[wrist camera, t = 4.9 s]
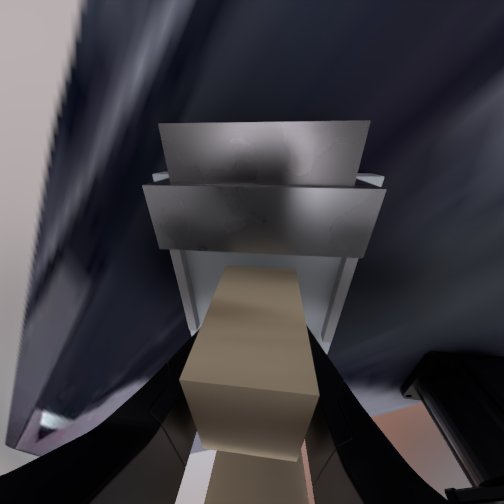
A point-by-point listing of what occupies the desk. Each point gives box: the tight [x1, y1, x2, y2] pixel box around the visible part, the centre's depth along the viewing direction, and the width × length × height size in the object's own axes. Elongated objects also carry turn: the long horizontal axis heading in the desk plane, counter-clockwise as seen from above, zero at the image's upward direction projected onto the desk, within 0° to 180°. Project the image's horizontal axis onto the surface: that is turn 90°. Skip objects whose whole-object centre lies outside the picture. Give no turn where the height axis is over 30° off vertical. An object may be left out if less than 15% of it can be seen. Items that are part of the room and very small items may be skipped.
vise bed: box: [152, 172, 384, 354], centre depth 11 cm, size 14×11×4 cm
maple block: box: [179, 266, 320, 462], centre depth 8 cm, size 5×4×6 cm
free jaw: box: [142, 121, 387, 259], centre depth 8 cm, size 4×8×3 cm, turn 90°
